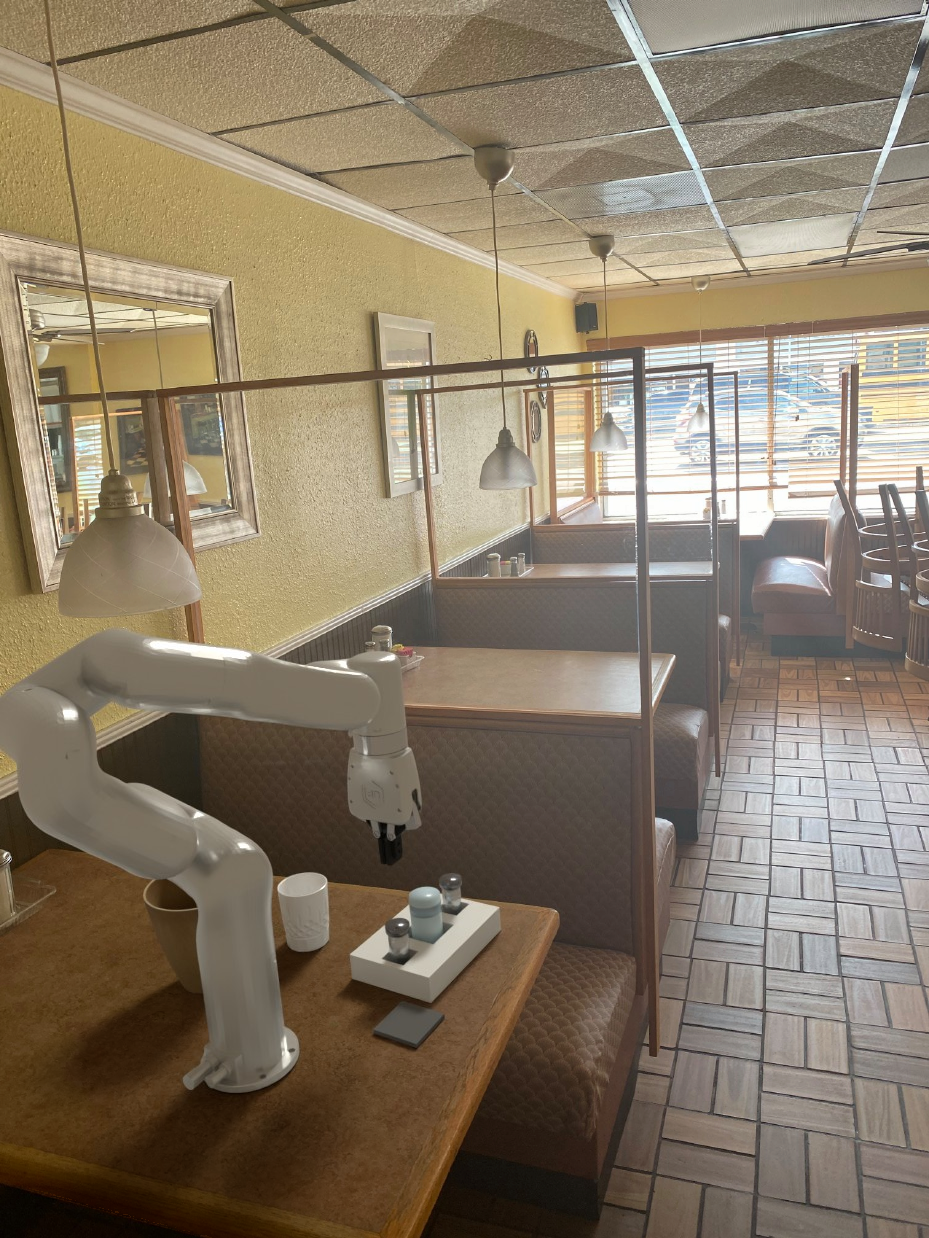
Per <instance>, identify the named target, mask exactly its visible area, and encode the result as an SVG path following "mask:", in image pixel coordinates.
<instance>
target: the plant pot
mask: <svg viewBox="0 0 929 1238" xmlns="http://www.w3.org/2000/svg"><path fill="white" fill-rule="evenodd" d="M142 897H143V901H144V906H145V907H146V908H145V909H146V910H147V913H148V914H147V915H148V917H149V920H150V923H151V926H152V928H153V931H154V933H155V935H156V938H157V940H158V943H159V945H160V948H161V950H162V951H163V955H164V957H165V958H166V959H167V962H168V963H169V965H170V967H171V968H172V970H173V973H174V974H175V976H176V977H177V978H178V980H179V981H180V983H181V985H182V986H183V988H184V989H185V990H186V991H188V992H189V993H192V994H203V988H202V981H201V974H200V967H199V962H198V954H197V945H196V930H197V924H198V908H197V904H196V902H195V901H194V899H193V898H192V897H190V896H189V895H188V894H187V893H186V892H185V891H184V890H183V889H181V888H180V887H179V886H177V885H176V884H175V883H173V882H172V881H170V880H168V879H158V880H154V879H151V881H150V882H149V883H148V884H147V885H146V887H145V888H144V890H143V893H142Z"/></svg>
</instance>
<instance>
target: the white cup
mask: <svg viewBox="0 0 929 1238" xmlns="http://www.w3.org/2000/svg"><path fill="white" fill-rule="evenodd" d="M328 888H329V887H328V879H327V877H326V876H325V875H323V874H321V873H319V872H302V873H296V874H292V875H290V876H287V877H286V878H284V879H283V880H281V881H280V882H279V883H278V884H277V888H276V891H277V896H278V901H279V906H280V907H279V908H280V913H281V918H282V924H283V928H284V930H285V938H286V943H287V946H288V947H289V949H290V950H292V951H295V952H298V953H299V952H301V953H305V952H306V953H307V952H308V953H309V952H312V951H316V950H319V949H320V948H322V947H325V946H326V944H327V943H328V942H329V940H330V927H329V925H330V908H329V905H330V904H329V890H328Z"/></svg>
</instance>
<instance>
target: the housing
mask: <svg viewBox="0 0 929 1238" xmlns="http://www.w3.org/2000/svg"><path fill="white" fill-rule="evenodd" d="M440 898H441V907H442V910H441V911H442V924H443V936H442V937H441V938H440V939H438V940H437V941H436V942H435V943H434V944H430V943H427V942H423V941H419V940H416V939H412V928H411V916H410V908H409V904H407V906H406V907H404V908H403V909H402V910H401V911H399V913H397V914H396V915H395V916H394V917H393V918H392V917H391V919H394V918H405V919H407V920H408V921H409V924H410V931H409V933H408V936H409V947H410V960H409V961H408V962H407V963H406V964H405V965H400V964H397V963H393V962H390V953H389V943H388V935H387V934H386V932H385V924H384V925H383V926H382V927H381V928H379V929H378V930H377V931H376V932H374V934H372V935H371V936H370V937H369V938H368V939H366V940H365V941H364V942H363V943H362V944H360V945H359V946H358V947H357V948H355V950H353V951H352V952H350V954H349V959H350V971H351V978H352V979H351V980H355V981H359V982H362V983H364V984H368V985H371V986H375V987H377V988H382V989H385V990H388V991H391V992H395V993H398V994H401V995H402V996H403V995H404V996H407V997H410V998H414V999H417V1000H419V1001H423V1002H426V1003H430V1004H432V1003H433V1002H434V1000H435V999H436V998H438V997H439V996H440V994H441V993H442V992H443V991H444V990H445V989H446V988H447V987H448V986H449V985H450V984H451V983H452V981H454V980H455V979H456V978H457V976H458V975H459V974H461V972H462V971H463V970H464V969H465V968H466V967H467V966H469V964H470V963H471V962H472V961H473V960H474V959H475V958H476V957H477V956H478V955H479V954H480V953H481V951H482V950H484V949H485V947H486V946H488V945H489V943H491V941H492V940H493V939H494V938H495V937H496V936H497V935H498V934H499V933H500V931H502V926H501V925H502V924H501V911H500V908H501V907H499V906H497V905H492V904H486V903H484V902H483V903H482V902H478V901H476V900H475V901H474V900H470V899H465V898H462V897H461V903H462V911H461V912H460V913H459V914H458V915H457V916H456V915H452V914H448V913H444V912H443V899H442V892H440Z"/></svg>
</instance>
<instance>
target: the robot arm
mask: <svg viewBox="0 0 929 1238" xmlns="http://www.w3.org/2000/svg"><path fill="white" fill-rule="evenodd" d="M402 672H403V671H402V663H401V660H400V658H399V656H398V655H396V654H395V653H394V652H389V651H383V650H376V651H374V650H373V651H367V652H361V653H358V654H355V655H354V656H352V657H349V658H343V659H342V658H340V659H331V660H330V659H329V660H319V661H318V660H317V661H312V662H309V663H307V664H299V663H295V662H291V661H287V660H283V659H278V658H276V657H272V656H269V655H266V654H263V653H260V652H257V651H256V652H255V651H252V650H248V649H245V648H244V649H243V648H238V647H234V646H224V645H216V644H209V643H208V644H207V643H199V642H194V641H193V642H192V641H184V640H178V639H172V638H163V637H158V636H152V635H147V634H140V633H138V632H135V631H132V630H129V629H125V628H117V627H113V628H107V629H103V630H101V631H99V632H96V633H94V634H92V635H91V636H88V637H87V638H84V640H82V641H80V642H79V643H77V644H75V645H74V646H72V647H70V648H69V649H68V650H66V651H64V652H63V653H61V654H60V655H58V656H57V657H55V658H53V659H52V660H50V662H48V663H46V664H45V665H43V666H41V667H39V669H37V670H35V671H34V672H32V673H30V674H29V675H27V676H26V677H24V678H22V679H21V680H20V681H19V680H18V682H17V683H15V684H14V685H12V686H11V687H8V689H7V690H5V692H4V693H2V695H0V751H2V752H3V753H4V754H5V755H7V756H8V757H9V758H11V759H12V761H14V763H16V764H15V765H16V775H17V776H16V777H17V791H18V795H19V801H20V804H21V806H22V808H23V810H24V813H25V814H26V817H28V819H29V820H30V821H31V822H32V823H33V825H35V827H37V828H38V829H39V830H41V831H42V832H44V833H45V834H47V835H49V836H50V837H52V838H55V839H57V840H59V841H61V842H64V843H65V844H68V845H71V846H72V847H75V848H76V849H79V850H81V851H83V852H84V853H87V854H89V855H91V856H93V857H94V858H95V857H96V858H99V859H100V860H101V861H102V860H103V861H105V862H107V863H110V865H111V864H112V865H114V866H117V868H118V867H119V868H120V869H122V870H123V871H126V872H127V873H129V874H131V875H133V876H136V877H139V878H142V879H148V880H153V879H154V880H158V879H168V880H170V881H172V882H173V883H175V884H176V885H177V886H179V887H180V888H181V889H183V890H184V891H185V892H186V893H187V894H188V895H189V896H190V897H192V898H193V899H194V901H195V902H196V904H197V908H198V924H197V930H196V945H197V954H198V962H199V967H200V974H201V981H202V988H203V993H202V995H203V1003H204V1008H205V1016H206V1023H207V1031H208V1036H209V1042H208V1043H206V1044H205V1045H204V1046H203V1050H204V1052H203V1054H202V1056H201V1059H200V1063H199V1064H198V1065H197V1066H196V1067H194V1068H192V1069H191V1070H189V1071H188V1073H186V1074H185V1075H184V1076H183V1077H182V1083H183V1084H184V1086H185V1088H187V1089H188V1090H191V1091H193V1090H194V1089H195V1088H197V1086H199V1085H200V1084H201V1083H202V1082H203V1081H204V1082H205V1083H206V1085H207V1086H208V1087H209V1088H210V1089H214V1090H216V1091H220V1092H225V1093H231V1094H233V1093H234V1094H239V1093H240V1094H242V1093H248V1092H254V1091H257V1090H260V1089H263V1088H265V1087H269V1086H271V1085H272V1084H274V1083H276V1082H278V1081H279V1080H281V1079H282V1078H283V1077H285V1076H286V1075H287V1074H288V1073H289V1072H290V1071H291V1070H292V1069H293V1067H294V1066H295V1065H296V1064H297V1060H298V1059H299V1055H300V1043H299V1040H298V1036H297V1035H296V1033H295V1032H294V1031H292V1030H291V1029H290V1028H289V1027H287V1026H285V1021H284V1012H283V1005H282V996H281V995H282V994H281V987H280V981H279V970H278V963H277V955H276V954H277V953H276V945H275V938H274V928H273V916H272V914H273V913H272V903H273V901H272V900H273V899H272V898H273V888H274V873H273V868H272V864H271V862H270V860H269V857H268V856H267V854H266V853H265V852H264V851H263V849H262V848H261V847H260V845H258V844H257V843H256V842H254V840H252V839H251V838H249V837H247V836H246V835H244V834H243V833H241V832H239V831H238V830H237V829H234V828H232V827H230V826H228V825H227V824H225V823H224V822H222V821H220V820H219V819H217V818H215V817H214V816H211V815H210V814H207V813H205V812H203V811H201V810H199V809H196V808H195V807H193V806H191V805H188V804H187V803H185V802H183V801H181V800H179V799H178V798H174V797H172V796H171V795H169V794H167V793H165V792H163V791H161V790H159V789H156V788H154V787H153V786H151V785H147V784H145V783H139V782H128V783H126V782H124V781H122V780H120V779H119V778H117V777H116V776H115V777H114V776H112V775H111V774H108V773H106V772H105V771H103V769H102V768H101V767H100V765H99V762H98V757H97V756H98V755H97V752H98V751H97V750H98V749H97V747H98V746H97V745H98V741H97V733H96V731H97V730H96V728H95V725H94V722H93V720H92V718H91V717H92V716H94V715H96V714H97V713H98V712H99V711H101V710H102V709H103V708H104V707H106V706H107V705H109V704H110V703H114V704H116V705H119V706H121V707H124V708H128V709H133V710H141V711H150V712H152V711H153V712H163V713H165V712H166V713H176V714H177V713H178V714H190V715H202V716H203V715H204V716H215V717H225V718H226V717H227V718H234V719H238V720H244V721H249V722H251V721H252V722H264V723H272V724H273V723H274V724H281V725H286V726H287V725H288V726H294V727H301V728H302V727H303V728H310V729H320V730H321V729H322V730H334V731H335V730H336V731H348V732H347V734H348V735H347V736H348V737H349V738H352V740H353V747H352V748H350V749H349V755H348V763H347V802H348V807H349V813H350V814H352V816H354V817H356V818H357V819H358V820H361V821H362V822H365V823H367V825H368V826H369V827H370V828H371V830H372V834H373V836H374V837H375V838H376V839H377V843H378V853H379V858H380V859H379V860H380V865H384V866H385V865H386V866H389V867H392V866H393V865H394V864H396V863H397V862H398V861H400V860H401V859H402V858H403V851H404V850H403V840H402V834H404V833H405V832H406V831H410V830H411V831H412V830H416V829H418V828H419V827H421V826H422V820H421V815H420V814H421V813H422V809H423V808H422V807H423V806H422V805H423V803H422V801H423V800H422V791H421V784H420V777H419V773H418V768H417V764H416V759H415V756H414V753H413V750H412V748H411V747H409V742H408V741H409V740H408V730H407V721H406V720H407V718H406V708H405V707H406V706H405V694H404V684H403V673H402Z"/></svg>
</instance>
